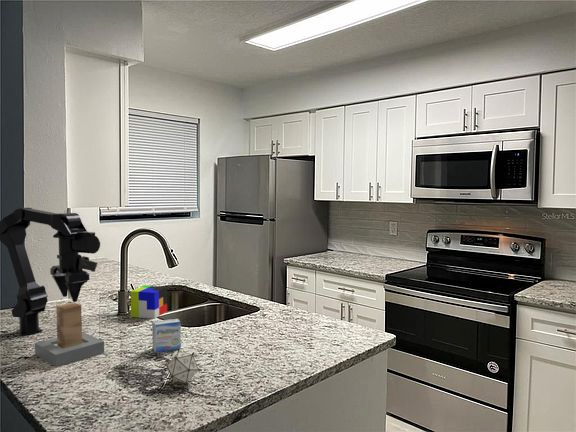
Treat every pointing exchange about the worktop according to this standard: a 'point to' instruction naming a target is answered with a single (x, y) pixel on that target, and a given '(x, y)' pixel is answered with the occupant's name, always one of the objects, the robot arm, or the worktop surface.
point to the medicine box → (166, 335)
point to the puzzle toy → (148, 301)
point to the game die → (182, 367)
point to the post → (69, 325)
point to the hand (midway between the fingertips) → (70, 299)
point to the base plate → (68, 350)
